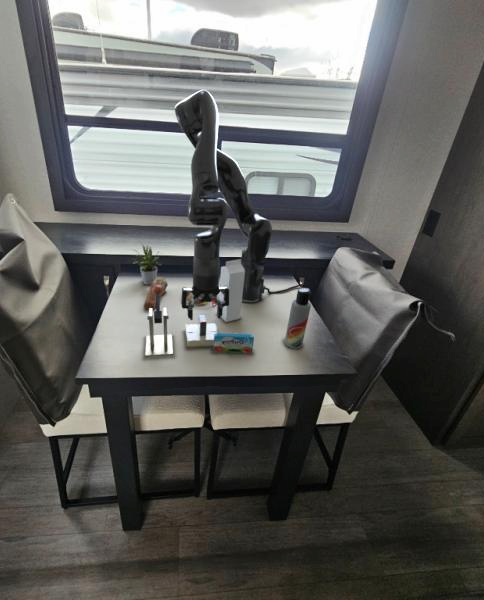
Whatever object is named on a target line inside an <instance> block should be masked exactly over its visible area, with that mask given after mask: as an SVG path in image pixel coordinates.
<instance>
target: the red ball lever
mask: <svg viewBox="0 0 484 600" xmlns="http://www.w3.org/2000/svg"><path fill="white" fill-rule="evenodd" d="M152 292H153V294H155V295H156V306H155V310H153V324H163V310H161V303H160V302H161V298H160V295H161V294H162V292H163V288H162V287H161V286H160V285H156V286H154V287H153V289H152ZM162 295H163V294H162Z"/></svg>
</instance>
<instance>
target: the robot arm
mask: <svg viewBox="0 0 484 600" xmlns="http://www.w3.org/2000/svg"><path fill="white" fill-rule="evenodd" d="M174 114H175V118H176V120H177V123H178V124H179V126H180V128H181V130H182V131H183V133H184V134H185V136H186V137H187V139H188V140H189V142H190V144H191V145H192V146H193V148H194V151H193V154H192V158H191V161H190V162H191V164H190V174H191V175H190V176H191V193H190V199H189V202H188V206H187V219H188V221H189V222H190V224H192V225H194V226H196V227H197V226H199V227H200V226H201V227H202V226H208V227H210V226H211V228H210V229H208V230H206V231H203V232H199V233H197V234H196V235H195V236H194V240H193V260H192V287H191V288H187V287H185V286H183V287H182V288H181V300H180V301H181V302H180V303H181V308H182V309H186V310H187V318H188V319H189V321H193V320H194V309H193V308H194V307H195V306H198V305H197V304H198V302H201V303H203V302H208V303H212V302H211V301H214V302H215V303H216V304H215V305H216V317H217V319H221V317H220V316H222V312H223V307H224V306H229V289H228V287H227V285H225V286H224V287H220V272H221V262H220V261H221V260H220V248H221V239H222V235H223V231H224V228H225V226H226V223H227V221H228V216H229V208H230V210H231V212H232V213H233V215H234V218H235V220H236V223H237V225H238V227H239V230H240V232H241V234H242V235H243V237H245V238H247V239H248V242H247V247H245V248H243V249H242V250H241V253H240V254H241V255H240V259H241V265H242V267H243V268H244V270H245V276H244V285H243V294H242V302H244V303H249V304H251V303H252V304H253V303H257V302H259V301H262V298H263V294H265V291H267V293H268V294H270V295H271V294H280V293H284V292H287V291H290V290H293V289H296V288H299V287H302V288H307V285H305V284H304V283H299V284H297V285H293V286H290V287H288V288H284V289H281V290H276V291H270V288H268V287H266V286H265V284H264V283H265V279H264V271H265V270H264V269H265V263H266V257H267V256H268V253H269V250H270V245H271V240H272V235H273V226H272V222H271V221H270V220H268V219H267V218H265V217H263V216H261V215H259V214H258V212H256V210H255V208H254V207H253V205H252V203H251V200H250V199H249V194H248V185H247V181H246V179H245V176H244V174H243V172H242V170H241V168H240V166H239V163H238V161H236V160H235V159H234V158H233V157H231V156H230V155H228V154H227V153H225V152H223V151H222V150H220V149H218V148H217V146H218V137H219V136H218V134H219V111H218V105H217V103H216V101H215V98H214V97H213V96H212V94H211V93H210V92H209V90H206V89H200V90H199V91H197V92H195V93H193V94H191V95H189V96H188V97H186V98H185V99H183V100H181V101H179V102H178V103H177V104H176V105H175V106H174ZM218 191H219V193H220V194H221V196H222V197H210V196H212V195H213V196H214V195H215V194H216V193H218ZM220 292H222V294H223V295H224V301H220V300H219V293H220ZM190 293H192V294H193V297H192V298H191V300H190V301H189V302H188V303H187V296H189V294H190Z"/></svg>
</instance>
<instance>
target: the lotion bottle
mask: <svg viewBox="0 0 484 600" xmlns="http://www.w3.org/2000/svg"><path fill="white" fill-rule="evenodd" d="M311 293H312V292H311V289H310V288H308V287H300V288H298V289H297V292H296V298H295V299H294V300H293V301H292V302H291V305H290V306H291V307H290V312H289V317H288V321H287V327H286V332H285V335H284V336H285V337H284V344H285V345H286V346H287V347H288V348H290V349H300V348H301V347H302V346H303V343H304V338H305V334H306V330H307V326H308V321H309V317H310V312H311V307H312V305H311V303H310V297H311Z"/></svg>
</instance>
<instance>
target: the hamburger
mask: <svg viewBox="0 0 484 600" xmlns="http://www.w3.org/2000/svg"><path fill="white" fill-rule="evenodd" d="M192 297H193V294H192V293H190V294H189V296H187V300H186V303H188V302H189V301H190V300H191V298H192ZM210 303H211V305H212V306H213V307H214V306H216V305H217V304H216V303H215V302H214V301H211V302H210ZM208 304H209V302H203V303H201V302H198V304H197V305H196V306H201V305H208Z"/></svg>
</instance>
